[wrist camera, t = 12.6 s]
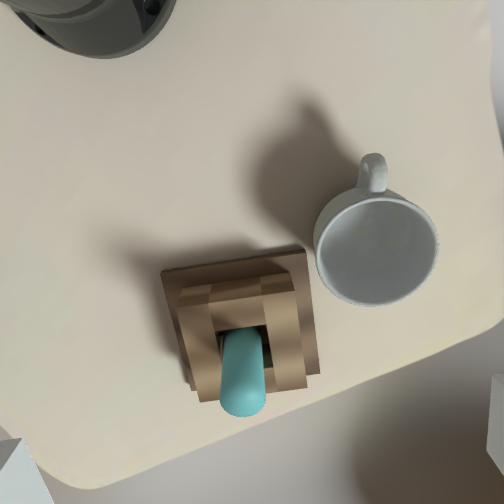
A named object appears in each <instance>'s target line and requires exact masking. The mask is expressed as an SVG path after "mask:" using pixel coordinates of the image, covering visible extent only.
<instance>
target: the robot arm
mask: <svg viewBox="0 0 504 504" xmlns="http://www.w3.org/2000/svg"><path fill="white" fill-rule="evenodd" d="M0 2H3V3H5V4H8V5H10V7H11V8H12V9H13V11H14V12H15V13H16V14H17V15H18V17H19V18H20V19H21V20H22V21H23V22H24V23H25V24H26V25H27V26H28V27H29V28H30V29H31V30H33V31H34V32H35V33H36V34H37V35H39V36H40V37H42V38H43V39H44V40H46V41H48V42H49V43H51V44H53V45H54V46H56V47H58V48H61V49H63V50H65V51H68V52H71V53H74V54H78V55H81V56H85V57H90V58H97V59H111V58H118V57H122V56H125V55H128V54H131V53H133V52H135V51H137V50H139V49H141V48H142V47H144V46H145V45H147V44H148V43H149V42H150V41H152V40H153V39H154V38H155V37H156V36H157V35H158V34H159V32H160V31H161V30H162V29H163V27H164V26H165V24H166V23H167V21H168V19H169V17H170V15H171V13H172V11H173V9H174V6H175V3H176V0H0ZM487 452H488V453H489V455H490V456H491V458H492V459H493V461H494V462H495V464H496V465H497V467H498V468H499V469H500V471H501V472H502V474H503V475H504V373H501V374H493V375H492V387H491V399H490V412H489V425H488V438H487ZM0 504H54V502H53V499H52V497H51V496H50V493H49V491H48V489H47V487H46V485H45V483H44V481H43V479H42V477H41V475H40V473H39V471H38V469H37V467H36V465H35V462H34V460H33V458H32V456H31V454H30V452H29V450H28V448H27V446H26V444H25V442H24V440H23V438H18V439H11V440H4V441H0Z"/></svg>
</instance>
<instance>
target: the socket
mask: <svg viewBox="0 0 504 504" xmlns="http://www.w3.org/2000/svg"><path fill="white" fill-rule="evenodd" d="M160 275H161V279H162V283H163V286H164V290H165V294H166V298H167V301H168V305H169V309H170V313H171V316H172V320H173V324H174V328H175V331H176V335H177V339H178V343H179V346H180V350H181V354H182V358H183V361H184V365H185V369H186V373H187V376H188V380H189V384H190V388H191V391H196V390H197V393H198V397H199V401H200V402H207V401H214V400H220V387H221V375H222V362H223V350H224V337H225V330H229V329H236V328H243V327H250V326H257V325H260V329H261V342H262V355H263V368H264V381H265V393H273V392H280V391H288V390H295V389H302V388H308V387H307V380H306V375H313V374H320V367H319V358H318V349H317V341H316V332H315V324H314V315H313V306H312V298H311V289H310V281H309V272H308V263H307V255H306V251H305V249H303V250H297V251H290V252H283V253H277V254H270V255H264V256H257V257H250V258H244V259H237V260H231V261H224V262H217V263H211V264H204V265H198V266H191V267H185V268H178V269H171V270H165V271H162V272H161V274H160Z"/></svg>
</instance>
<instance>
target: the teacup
mask: <svg viewBox="0 0 504 504" xmlns="http://www.w3.org/2000/svg"><path fill="white" fill-rule="evenodd" d="M387 179H388V171H387V164H386V161H385V158H384V157H383V156H382V155H381V154H379V153H371V154H367V155H365V156H364V157H363V158H362V160H361V163H360V167H359V173H358V180H357V183H356V187H355V188H353V189H350V190H347V191H345V192H343V193H341V194H339V195H337V196H336V197H335V198H333V199H332V200H331V201H330V202H329V203H328V204H327V205H326V206H325V207H324V209H323V210H322V211H321V213H320V215H319V217H318V219H317V221H316V224H315V228H314V234H313V245H314V252H315V259H316V267H317V270H318V273H319V276H320V278H321V280H322V281H323V283H324V285H325V286H326V287H327V288H328V289H329V290H330V291H331V292H332V293H333V294H334V295H335V296H337V297H338V298H340V299H342V300H344V301H346V302H348V303H351V304H355V305H359V306H366V307H377V306H385V305H390V304H393V303H395V302H398V301H401V300H403V299H405V298H407V297H408V296H410V295H411V294H413V293H414V292H415V291H416V290H418V289H419V288H420V287H421V286H422V285H423V284H424V283H425V282H426V280H427V279H428V277H429V276H430V274H431V273H432V271H433V269H434V267H435V264H436V262H437V258H438V253H439V243H438V234H437V231H436V228H435V226H434V224H433V222H432V220H431V219H430V218H429V217H428V215H427V214H426V213H425V212H424V211H423V210H422V209H421V208H419V207H418V206H417V205H415V204H414V203H411V202H409V201H408V200H406V199H405V198H403V197H402V196H400V195H399V194H397V193H395V192H393V191H390V190H388V189H386V186H387Z"/></svg>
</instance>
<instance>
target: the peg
mask: <svg viewBox="0 0 504 504" xmlns="http://www.w3.org/2000/svg"><path fill="white" fill-rule="evenodd" d="M265 401H266V393H265V381H264V368H263V355H262V342H261V329H260V325H257V326H250V327H243V328H236V329H229V330H225V337H224V350H223V362H222V375H221V387H220V403H221V406H222V407H223V409H224V410H225V411H226V412H228V413H229V414H231V415H234V416H238V417H247V416H251V415H254V414H256V413H257V412H259V411H260V410H261V409H262V408H263V406H264V404H265Z"/></svg>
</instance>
